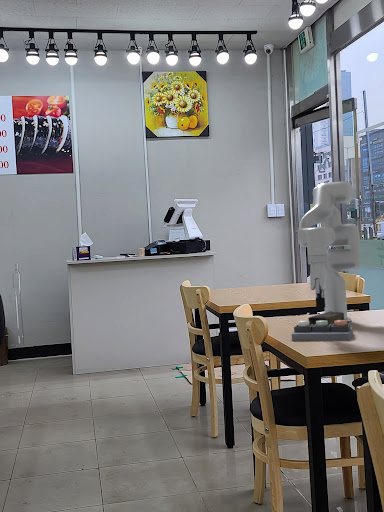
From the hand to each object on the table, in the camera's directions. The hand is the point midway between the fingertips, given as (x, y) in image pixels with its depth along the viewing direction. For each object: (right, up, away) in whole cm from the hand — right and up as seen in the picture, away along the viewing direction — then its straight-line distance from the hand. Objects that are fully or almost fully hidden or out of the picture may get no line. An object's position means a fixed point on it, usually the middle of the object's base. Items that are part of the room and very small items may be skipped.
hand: (320, 307), depth 241 cm
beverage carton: (+6, -11, +19) cm, 23 cm away
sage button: (+1, -7, +1) cm, 7 cm away
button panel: (+1, -11, +1) cm, 11 cm away
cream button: (-6, -7, +3) cm, 10 cm away
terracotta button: (+7, -7, -2) cm, 10 cm away
